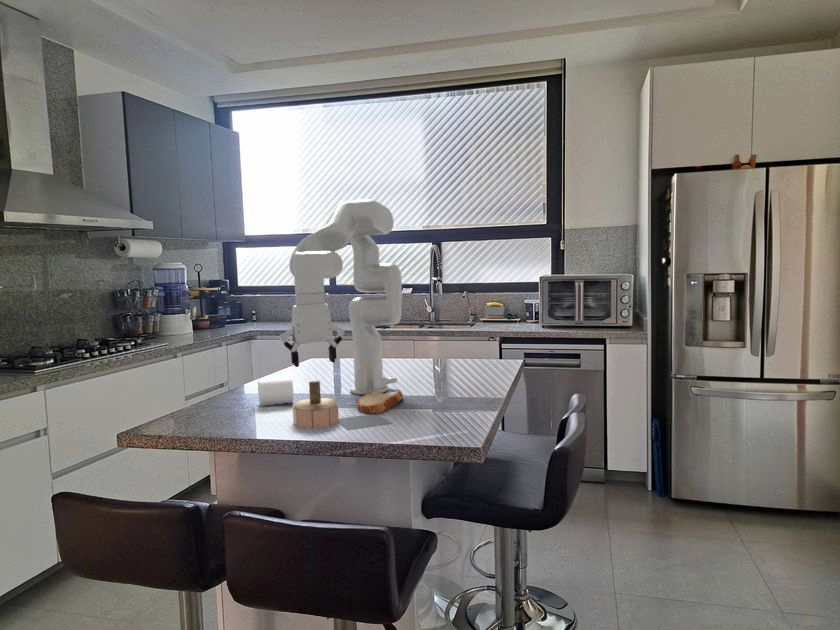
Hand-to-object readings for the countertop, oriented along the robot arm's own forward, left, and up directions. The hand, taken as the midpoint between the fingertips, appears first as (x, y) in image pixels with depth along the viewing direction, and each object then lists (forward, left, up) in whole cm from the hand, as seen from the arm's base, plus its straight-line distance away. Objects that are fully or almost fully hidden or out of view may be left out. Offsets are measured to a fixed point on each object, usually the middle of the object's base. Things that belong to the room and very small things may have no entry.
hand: (314, 363), depth 154 cm
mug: (+5, -31, -16) cm, 36 cm away
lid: (0, +1, -11) cm, 11 cm away
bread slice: (-22, -8, -16) cm, 28 cm away
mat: (-11, +7, -16) cm, 20 cm away
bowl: (0, +1, -16) cm, 16 cm away
